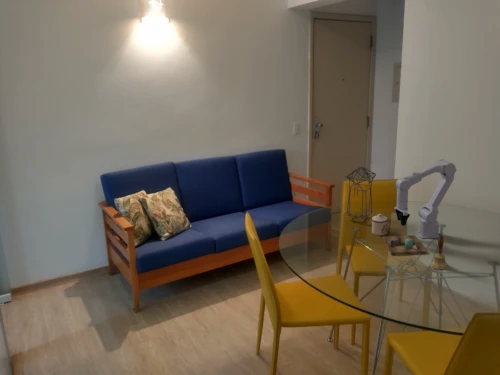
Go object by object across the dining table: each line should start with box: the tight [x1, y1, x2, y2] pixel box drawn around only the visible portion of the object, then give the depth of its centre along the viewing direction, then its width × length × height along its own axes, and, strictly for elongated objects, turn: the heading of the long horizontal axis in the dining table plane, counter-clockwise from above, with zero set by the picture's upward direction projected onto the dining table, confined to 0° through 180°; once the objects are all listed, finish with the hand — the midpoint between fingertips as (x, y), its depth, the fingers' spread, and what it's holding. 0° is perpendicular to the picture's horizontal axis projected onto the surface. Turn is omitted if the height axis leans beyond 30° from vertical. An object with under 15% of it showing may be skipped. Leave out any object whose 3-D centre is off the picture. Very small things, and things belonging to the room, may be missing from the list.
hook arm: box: [391, 238, 401, 247], centre depth 232 cm, size 5×1×6 cm, turn 86°
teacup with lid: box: [371, 213, 389, 236], centre depth 253 cm, size 12×9×12 cm
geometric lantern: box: [345, 166, 377, 220], centre depth 269 cm, size 16×16×35 cm
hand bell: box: [429, 235, 449, 270], centre depth 210 cm, size 8×8×16 cm
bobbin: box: [404, 238, 414, 249], centre depth 231 cm, size 4×4×5 cm
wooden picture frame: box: [382, 234, 427, 256], centre depth 235 cm, size 18×20×2 cm
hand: (401, 222), depth 240 cm, fingers open, 7 cm apart
